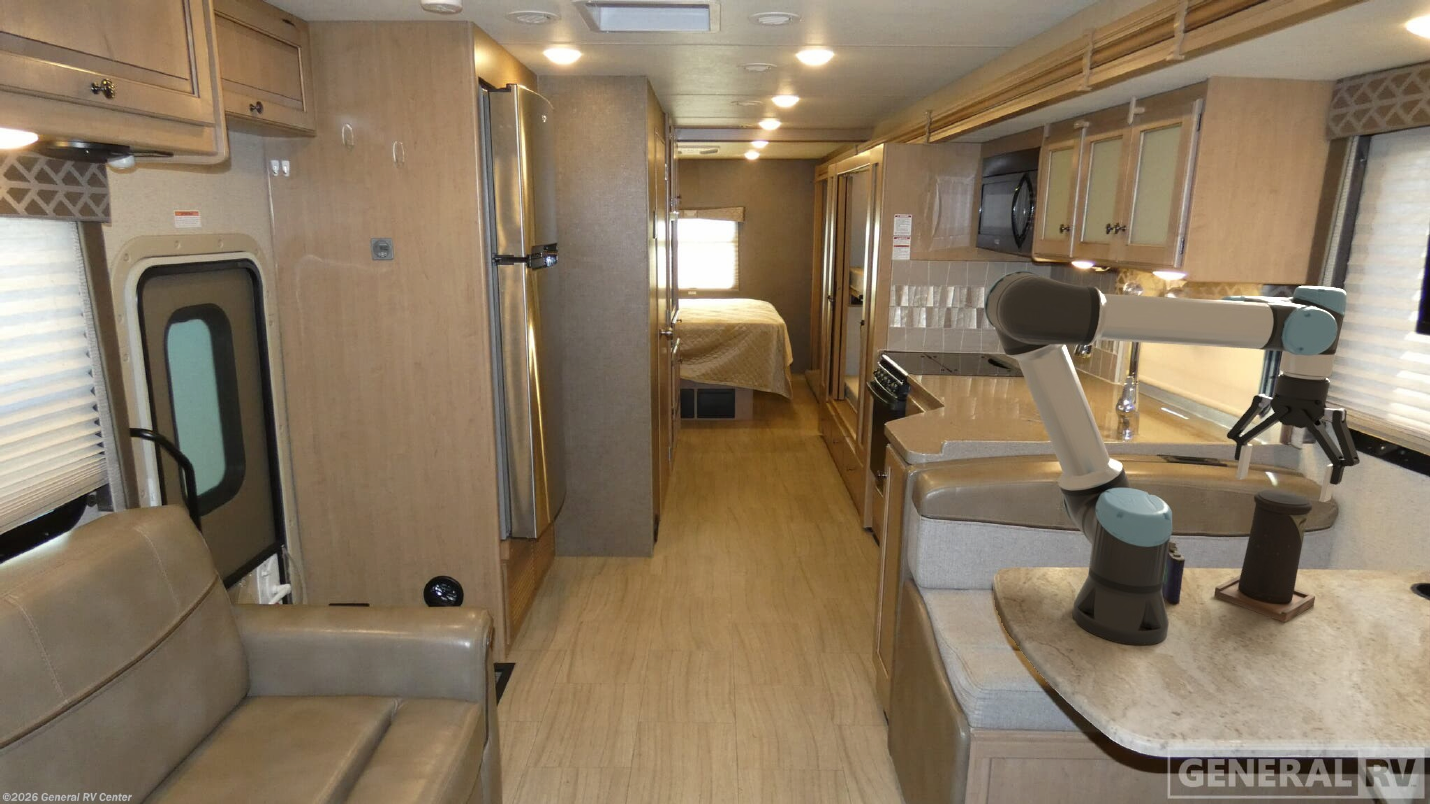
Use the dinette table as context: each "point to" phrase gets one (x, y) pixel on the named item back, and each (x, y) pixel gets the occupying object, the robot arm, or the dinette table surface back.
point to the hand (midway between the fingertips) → (1281, 489)
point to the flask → (1173, 575)
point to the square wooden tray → (1273, 610)
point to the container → (1274, 546)
